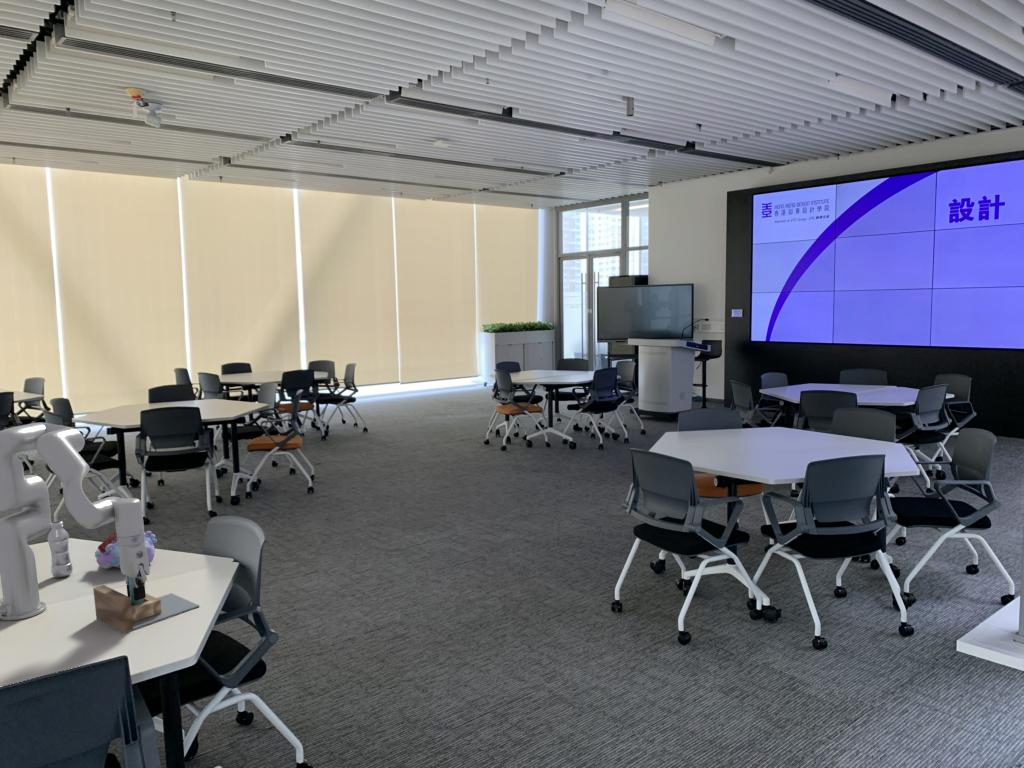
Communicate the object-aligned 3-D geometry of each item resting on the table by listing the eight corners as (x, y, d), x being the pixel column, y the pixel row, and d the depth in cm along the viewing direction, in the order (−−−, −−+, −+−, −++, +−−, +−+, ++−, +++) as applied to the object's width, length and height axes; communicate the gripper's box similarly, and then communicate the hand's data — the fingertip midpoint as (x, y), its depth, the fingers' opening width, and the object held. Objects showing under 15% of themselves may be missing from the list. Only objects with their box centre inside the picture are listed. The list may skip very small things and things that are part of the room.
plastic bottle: (66, 579, 270) (60, 524, 268) (47, 579, 270) (41, 525, 268) (77, 572, 276) (71, 519, 274) (58, 573, 277) (53, 519, 274)
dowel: (135, 613, 231) (130, 569, 230) (129, 611, 234) (125, 567, 232) (146, 609, 234) (142, 565, 232) (141, 607, 236) (136, 563, 235)
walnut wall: (122, 632, 222) (119, 600, 220) (96, 617, 233) (93, 587, 232) (133, 628, 224) (130, 597, 223) (106, 614, 235) (103, 584, 234)
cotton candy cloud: (137, 563, 269) (147, 514, 277) (76, 563, 269) (87, 514, 276) (160, 575, 288) (169, 528, 295) (103, 575, 287) (113, 528, 295)
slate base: (122, 633, 222) (122, 632, 222) (96, 619, 233) (96, 617, 233) (199, 606, 240) (199, 605, 240) (171, 594, 251) (171, 593, 251)
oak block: (128, 623, 227) (127, 610, 226) (113, 616, 233) (112, 603, 233) (161, 612, 234) (160, 599, 234) (146, 605, 241) (145, 593, 240)
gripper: (156, 540, 229) (161, 599, 231) (131, 531, 239) (136, 588, 241) (131, 547, 223) (136, 607, 225) (106, 538, 234) (112, 595, 236)
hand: (136, 596), depth 233 cm, fingers open, 3 cm apart
